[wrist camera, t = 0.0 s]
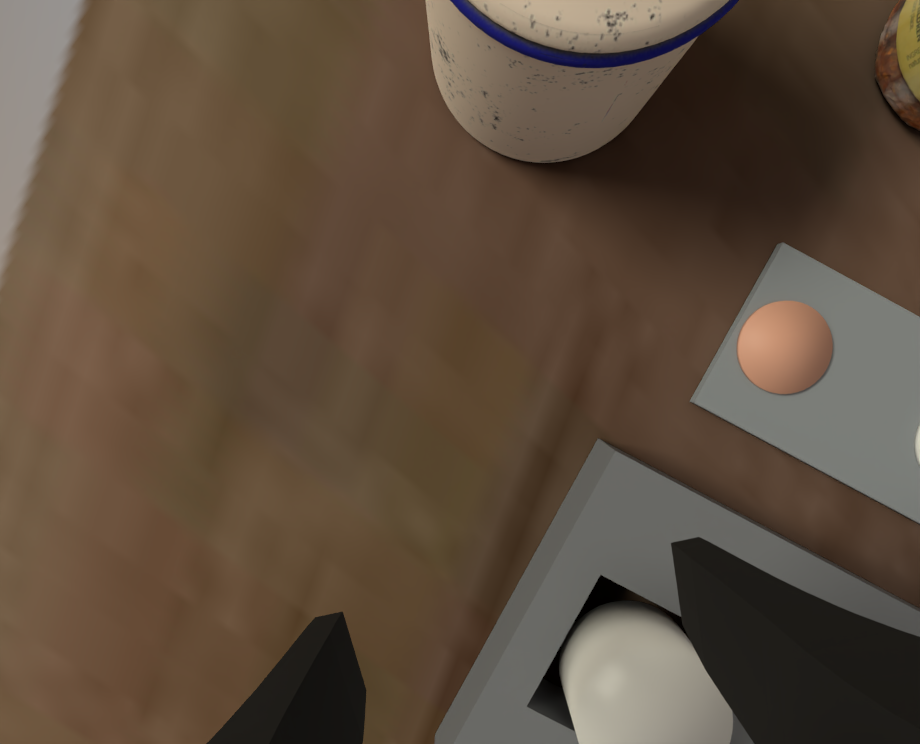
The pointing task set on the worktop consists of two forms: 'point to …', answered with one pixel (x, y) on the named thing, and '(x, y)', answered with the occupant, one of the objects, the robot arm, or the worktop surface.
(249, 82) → the worktop surface
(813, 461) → the pattern card
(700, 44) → the worktop surface
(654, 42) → the lidded enamel canister
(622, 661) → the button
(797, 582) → the button board
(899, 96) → the sauce bottle
